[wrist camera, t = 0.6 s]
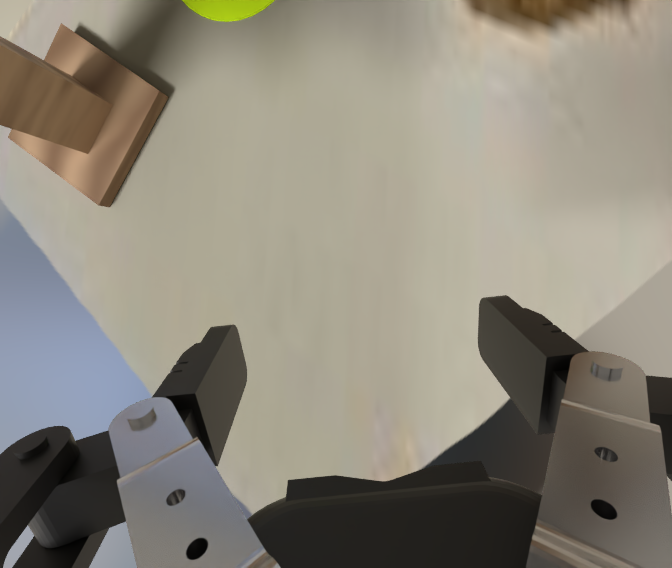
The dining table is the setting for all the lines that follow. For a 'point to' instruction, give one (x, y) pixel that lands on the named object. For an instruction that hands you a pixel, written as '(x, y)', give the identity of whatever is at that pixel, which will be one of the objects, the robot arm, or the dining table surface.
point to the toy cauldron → (227, 8)
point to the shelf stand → (77, 112)
